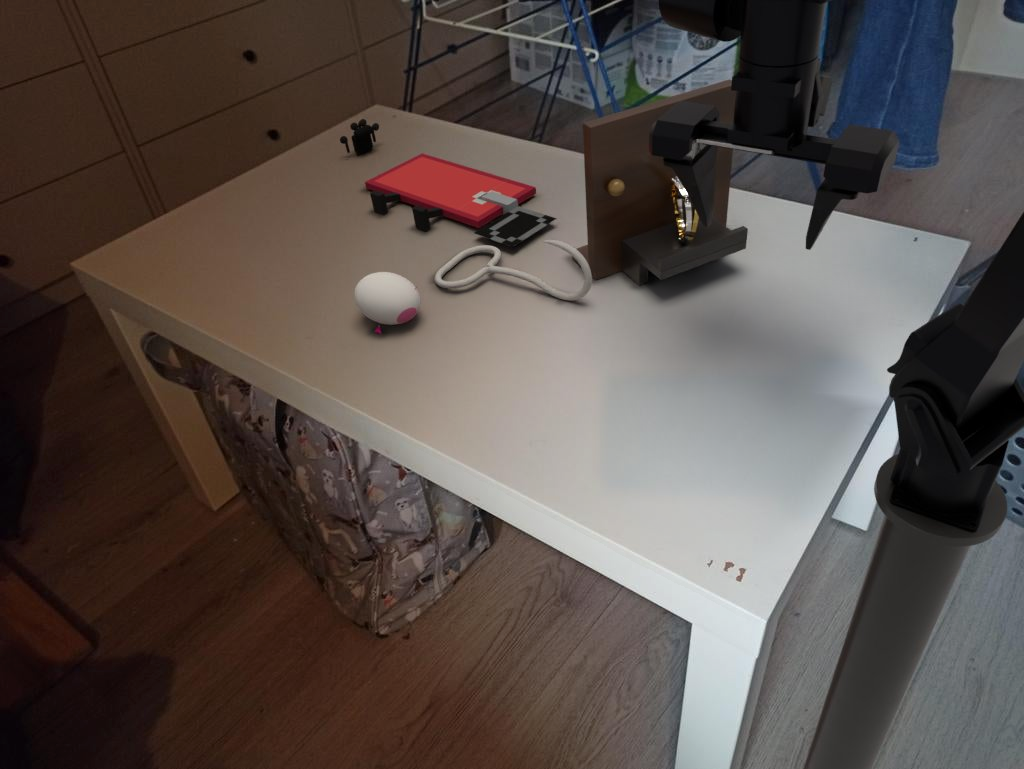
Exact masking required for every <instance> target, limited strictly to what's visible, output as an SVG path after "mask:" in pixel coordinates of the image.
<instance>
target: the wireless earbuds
mask: <svg viewBox="0 0 1024 769" xmlns="http://www.w3.org/2000/svg"><path fill="white" fill-rule="evenodd" d="M349 127H350V130H351V131H353V135H352V136H351V142H352V147H353V150H354V152H355V154H356V155H363V154H365V153H367V152H371V150H373V148H374V143H376V142H377V139H376V134H375V132H377V131H378V130H379V129H380V124H379V123H378V122H374V123H373V124H372V125H370V124H368V123H367V120H366V119H364V118H362V119H360V120H359V121H358V123H357V122H356V121H355V122H352V123H351V124H350V125H349ZM339 142H340V144H342V145H345V148H346V152H347V154H350V153H351V150H350V147H349V143H348V142H349V139H348V137H347V136H345V135H342V136H340V138H339Z"/></svg>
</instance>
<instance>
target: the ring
mask: <svg viewBox="0 0 1024 769" xmlns="http://www.w3.org/2000/svg"><path fill="white" fill-rule="evenodd" d="M670 185H671V193H672V201H673V208H674V215H675V221H676V227H677V232H678V239H679V241H681V242H682V243H683V242H691V241H692V239H693V237H694V235H695V232H696V228H697V224H698V219H699V217H698V214H697V212H696V210H695V208H694V209H693V217H692V211H691V203H690V199H689V196H688V194H687V192H686V190H685V188H684V187H683V185H682V184H681V182H680V180H679V179H678V177H677V176H674V177H672V178H670ZM676 188H677V193H676ZM682 198H683V200H684V204H685V209H686V230H685V226H684V221H683V213H682Z"/></svg>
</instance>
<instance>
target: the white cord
mask: <svg viewBox="0 0 1024 769" xmlns="http://www.w3.org/2000/svg"><path fill="white" fill-rule="evenodd" d="M542 242H543V243H546V244H548V245H551V246H554V247H557V248H559V249H561V250H563V251H564V252H566V253H568V254H569V255H570V256H571V257H572V256H573V257H574V258H575V259H576V260H577V261H578V263H579V264H580V265H579V264H578V263H577V264H578V265H579V266H580V268H581V270H582V272H583V277H584V279H583V280H584V281H583V285H582V287H581V288H580V289H579V290H578V291H576V292H565V291H562V290H559V289H556V288H554V287H553V286H551V285H549V284H548V283H546V282H545V281H544V280H542V279H540V278H539V277H537V276H535V275H532V274H530V273H528V272H525V271H521V270H518V269H515V268H511V267H505V266H496V265H498V264H499V262H500V261H501V259H502V252H501V250H500V249H499V247H496V246H494V245H486V244H485V245H476V246H472V247H469V248H466V249H464V250H462V251H461V252H459V253H457V254H456V255H455V256H453V258H451V259H450V260H449V261H448V262H447V263H446V264H444V265H443V266H442V267H441V268H440V269H438V270H437V272H436V273H435V275H434V282H435V284H436V285H437V286H438V287H440V288H443V289H449V290H451V289H460V288H463V287H464V288H465V287H467V286H470V285H472V284H474V283H476V282H478V281H479V280H480V279H481V278H483V277H484V276H486V275H489V274H499V275H505V276H510V277H514V278H517V279H520V280H524V281H526V282H529V283H531V284H533V285H534V286H536V287H538V288H539V289H541V290H542V291H543V292H545V293H547V294H548V295H550V296H552V297H554V298H557V299H561V300H564V301H577V300H581V299H582V298H584V297H585V296H587V294H588V293H589V291H590V290H591V287H592V284H593V277H592V274H591V270H590V267H589V265H588V263H587V261H586V259H585V258H584V257H583V255H582V254H581V253H580V252H579V251H578V250H576V249H577V248H576V247H574V246H572V245H570V244H569V243H566V242H564V241H561V240H557V239H545V240H542ZM479 253H491V254H493V257H492V258H491V260H489V261H488V263H487V264H486V266H485V267H482V268H480V269H479V270H478V271H476V273H474V274H472V275H470V276H469V277H466V278H463V279H459V280H455V281H454V280H453V281H447V280H444V279H443V276H445V274H446V273H447V272H449V271H450V270H451V269H452V268H454V267H455V266H456V265H457V264H458V263H460V262H461V261H462V260H463V259H465V258H467V257H469V256H471V255H474V254H479Z"/></svg>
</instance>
